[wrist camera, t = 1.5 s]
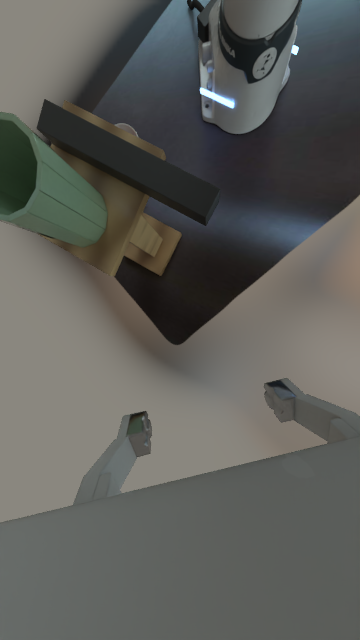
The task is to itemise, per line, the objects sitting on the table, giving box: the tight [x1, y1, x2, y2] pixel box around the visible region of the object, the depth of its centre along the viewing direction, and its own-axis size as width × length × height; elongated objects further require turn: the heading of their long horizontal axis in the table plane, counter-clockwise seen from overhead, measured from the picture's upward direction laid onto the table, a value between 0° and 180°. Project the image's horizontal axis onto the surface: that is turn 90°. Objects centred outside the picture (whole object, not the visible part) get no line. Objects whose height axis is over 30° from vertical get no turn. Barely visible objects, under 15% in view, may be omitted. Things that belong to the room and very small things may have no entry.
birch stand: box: [38, 101, 182, 276], centre depth 35 cm, size 14×16×26 cm
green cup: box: [0, 112, 108, 248], centre depth 18 cm, size 8×8×9 cm
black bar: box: [37, 99, 220, 226], centre depth 20 cm, size 22×3×2 cm, turn 61°
